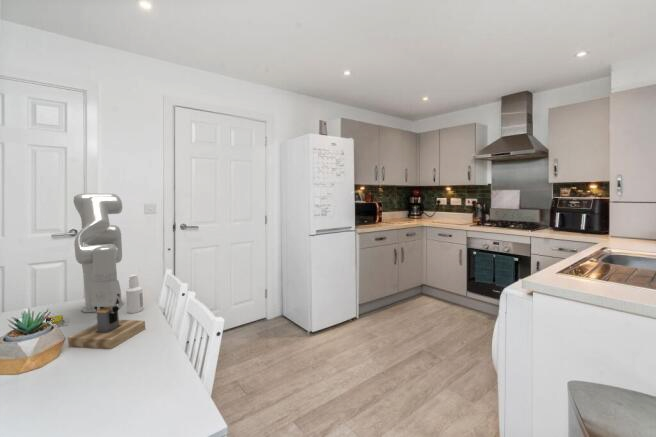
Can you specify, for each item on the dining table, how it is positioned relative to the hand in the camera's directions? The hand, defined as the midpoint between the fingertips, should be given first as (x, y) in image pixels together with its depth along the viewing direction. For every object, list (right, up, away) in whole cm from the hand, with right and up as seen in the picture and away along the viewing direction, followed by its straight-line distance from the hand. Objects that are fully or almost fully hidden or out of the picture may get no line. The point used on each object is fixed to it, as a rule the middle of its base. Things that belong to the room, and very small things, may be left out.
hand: (108, 321), depth 126 cm
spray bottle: (-8, -5, +30) cm, 31 cm away
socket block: (0, -6, +1) cm, 6 cm away
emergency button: (-36, -7, +12) cm, 39 cm away
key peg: (0, -4, 0) cm, 4 cm away
